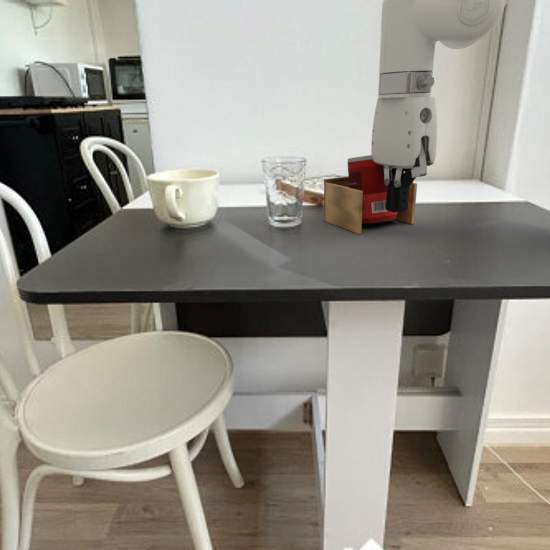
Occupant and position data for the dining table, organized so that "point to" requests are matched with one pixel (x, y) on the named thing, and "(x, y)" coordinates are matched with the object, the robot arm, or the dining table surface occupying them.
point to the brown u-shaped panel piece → (355, 204)
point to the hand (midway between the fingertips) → (396, 210)
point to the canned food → (370, 188)
